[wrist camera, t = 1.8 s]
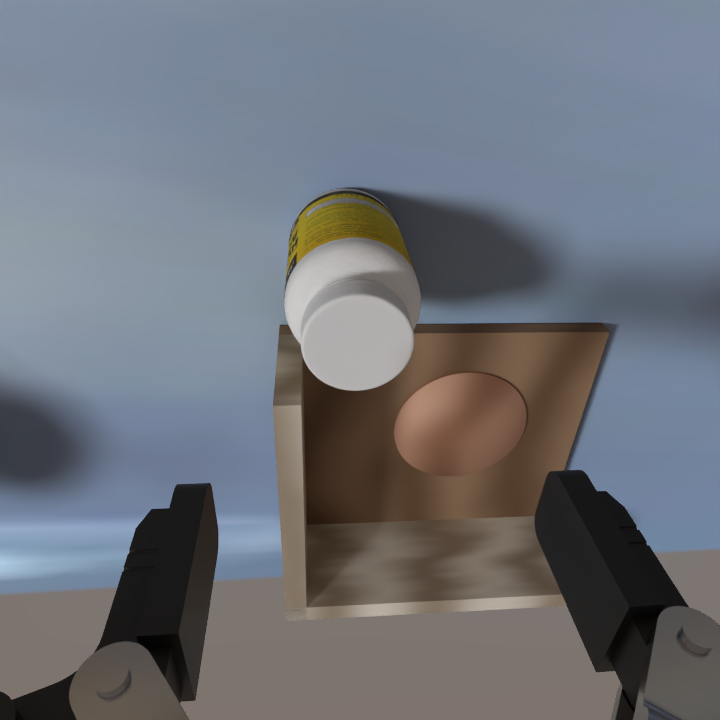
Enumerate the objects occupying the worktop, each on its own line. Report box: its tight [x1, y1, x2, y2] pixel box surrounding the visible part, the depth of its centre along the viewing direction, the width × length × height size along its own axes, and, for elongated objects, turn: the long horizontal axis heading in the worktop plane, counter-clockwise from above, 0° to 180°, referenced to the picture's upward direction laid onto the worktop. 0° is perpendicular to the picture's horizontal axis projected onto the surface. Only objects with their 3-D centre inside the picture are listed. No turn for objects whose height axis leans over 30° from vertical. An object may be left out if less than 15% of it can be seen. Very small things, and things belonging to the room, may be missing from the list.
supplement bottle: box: [284, 188, 421, 391], centre depth 23 cm, size 5×5×10 cm
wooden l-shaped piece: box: [273, 323, 610, 621], centre depth 32 cm, size 18×16×7 cm
